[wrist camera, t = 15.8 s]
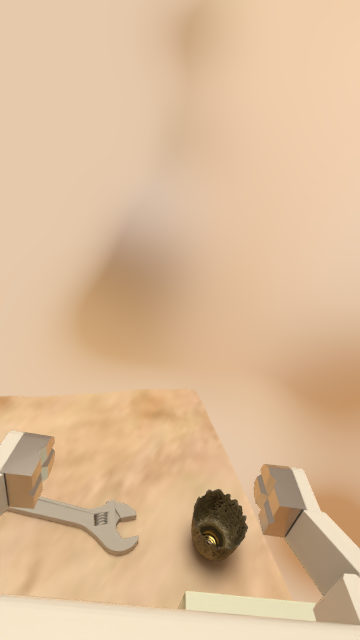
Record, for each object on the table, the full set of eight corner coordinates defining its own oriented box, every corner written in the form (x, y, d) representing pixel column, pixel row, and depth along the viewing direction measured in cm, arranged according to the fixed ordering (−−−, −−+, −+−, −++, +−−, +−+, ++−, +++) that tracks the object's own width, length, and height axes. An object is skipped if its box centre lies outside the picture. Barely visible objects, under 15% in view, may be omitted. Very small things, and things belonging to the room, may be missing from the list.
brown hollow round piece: (204, 591, 38) (219, 561, 34) (173, 536, 43) (183, 505, 39) (242, 555, 42) (258, 526, 39) (209, 510, 47) (221, 480, 44)
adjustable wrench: (-31, 504, 42) (-33, 497, 41) (2, 466, 48) (1, 459, 47) (129, 562, 39) (130, 556, 39) (144, 515, 45) (145, 508, 44)
